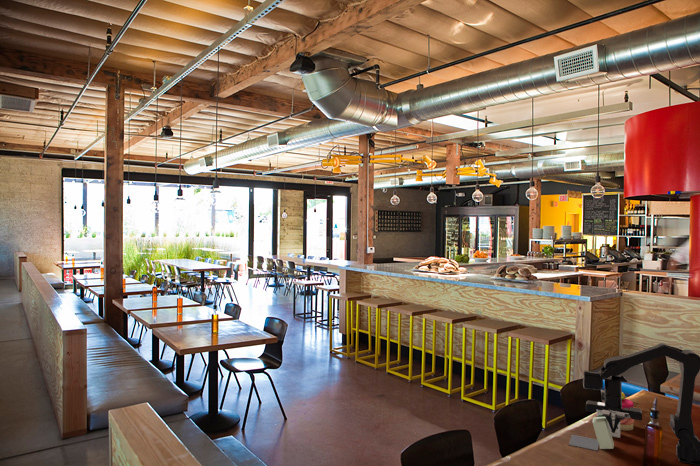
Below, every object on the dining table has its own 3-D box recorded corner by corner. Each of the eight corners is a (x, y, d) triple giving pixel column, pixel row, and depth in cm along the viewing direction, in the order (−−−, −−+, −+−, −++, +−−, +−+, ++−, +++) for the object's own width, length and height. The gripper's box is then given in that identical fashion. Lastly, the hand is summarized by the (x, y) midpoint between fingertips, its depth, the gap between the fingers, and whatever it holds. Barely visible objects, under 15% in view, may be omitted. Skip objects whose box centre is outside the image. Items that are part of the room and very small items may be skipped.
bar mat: (599, 440, 183) (599, 439, 183) (597, 451, 174) (597, 450, 174) (571, 435, 188) (571, 434, 188) (568, 445, 179) (568, 444, 179)
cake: (609, 419, 205) (608, 385, 206) (636, 425, 198) (636, 390, 199) (603, 426, 197) (603, 391, 198) (632, 432, 190) (631, 396, 191)
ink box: (596, 433, 190) (596, 405, 190) (596, 429, 194) (596, 401, 194) (620, 438, 185) (620, 408, 186) (620, 433, 190) (620, 405, 190)
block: (613, 442, 178) (605, 416, 180) (613, 448, 173) (605, 421, 175) (601, 443, 181) (593, 417, 182) (600, 449, 176) (592, 422, 177)
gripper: (641, 390, 178) (641, 430, 178) (587, 382, 188) (587, 420, 188) (641, 398, 169) (642, 440, 168) (585, 389, 178) (585, 430, 178)
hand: (613, 432), depth 176 cm, fingers closed
